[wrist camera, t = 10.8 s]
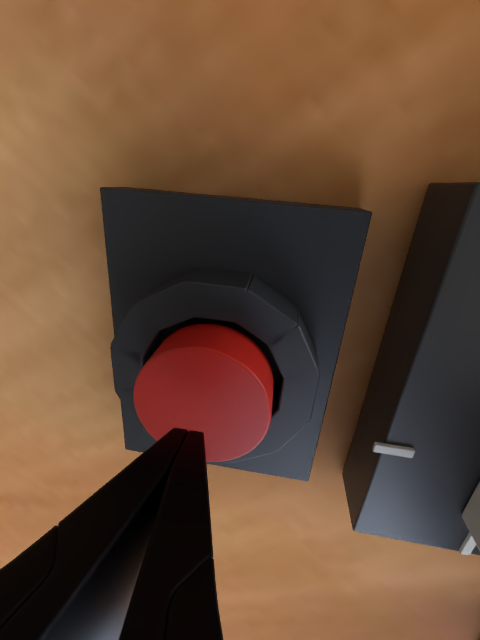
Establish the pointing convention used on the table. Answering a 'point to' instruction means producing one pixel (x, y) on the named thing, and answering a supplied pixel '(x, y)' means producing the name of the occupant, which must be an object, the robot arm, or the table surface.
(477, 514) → the grey block red tip
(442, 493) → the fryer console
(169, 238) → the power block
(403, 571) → the table surface
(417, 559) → the table surface
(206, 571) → the robot arm
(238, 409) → the power button
